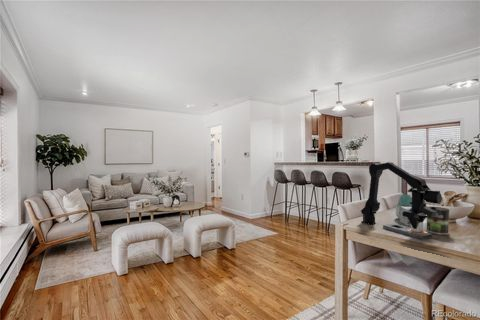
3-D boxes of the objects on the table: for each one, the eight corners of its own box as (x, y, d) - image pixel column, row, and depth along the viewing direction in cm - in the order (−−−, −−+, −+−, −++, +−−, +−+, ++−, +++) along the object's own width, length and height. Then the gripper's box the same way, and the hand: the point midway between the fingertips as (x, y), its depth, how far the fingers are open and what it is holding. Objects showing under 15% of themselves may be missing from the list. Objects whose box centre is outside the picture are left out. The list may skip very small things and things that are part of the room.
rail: (383, 228, 149) (383, 224, 149) (393, 226, 154) (393, 222, 154) (422, 239, 130) (422, 235, 129) (433, 237, 134) (433, 232, 134)
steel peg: (411, 235, 138) (411, 221, 138) (415, 234, 139) (415, 220, 139) (418, 237, 134) (418, 222, 134) (422, 236, 136) (423, 222, 136)
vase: (398, 216, 179) (398, 192, 179) (417, 219, 171) (417, 194, 170) (393, 219, 171) (393, 194, 171) (412, 222, 163) (413, 196, 162)
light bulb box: (418, 226, 153) (419, 209, 153) (406, 226, 155) (407, 209, 155) (410, 222, 164) (410, 206, 164) (399, 221, 165) (399, 205, 165)
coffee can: (446, 236, 136) (446, 211, 136) (423, 231, 144) (424, 207, 144) (450, 232, 142) (451, 208, 142) (429, 228, 150) (429, 205, 150)
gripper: (424, 204, 125) (423, 234, 125) (443, 202, 133) (442, 230, 133) (401, 201, 135) (401, 228, 135) (421, 198, 143) (420, 224, 143)
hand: (417, 228), depth 137 cm, fingers open, 5 cm apart
